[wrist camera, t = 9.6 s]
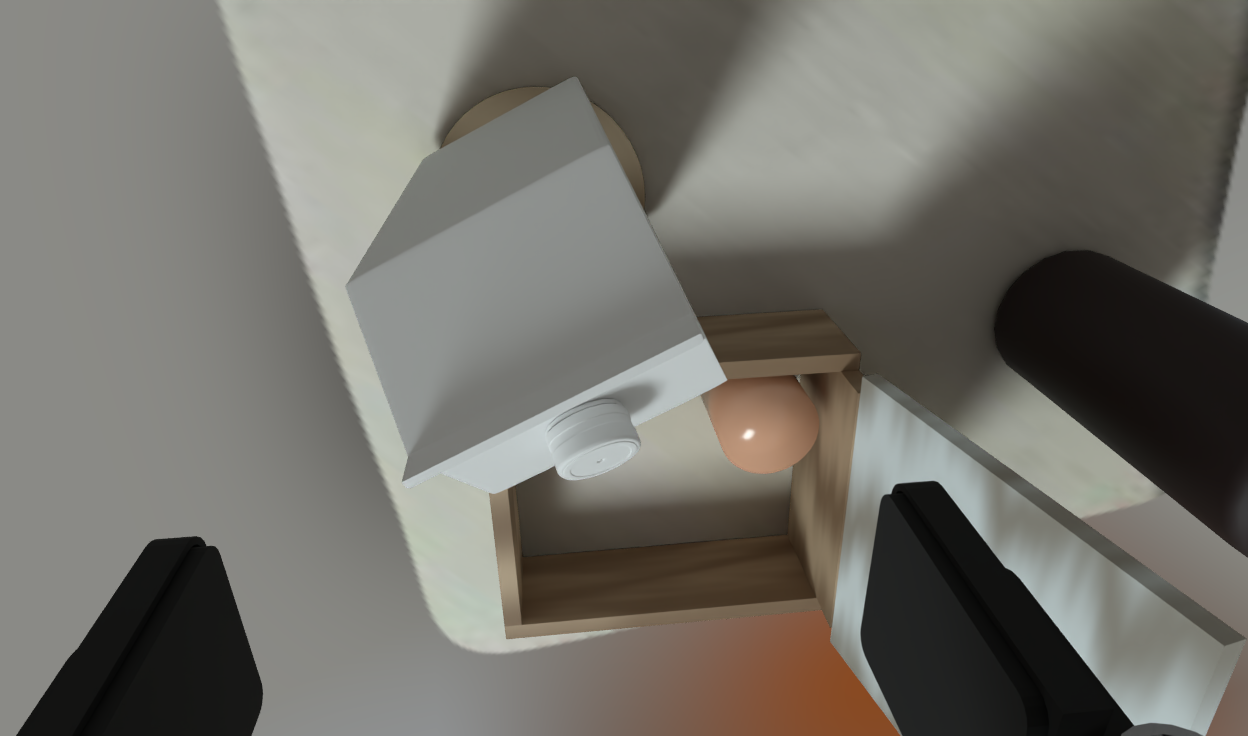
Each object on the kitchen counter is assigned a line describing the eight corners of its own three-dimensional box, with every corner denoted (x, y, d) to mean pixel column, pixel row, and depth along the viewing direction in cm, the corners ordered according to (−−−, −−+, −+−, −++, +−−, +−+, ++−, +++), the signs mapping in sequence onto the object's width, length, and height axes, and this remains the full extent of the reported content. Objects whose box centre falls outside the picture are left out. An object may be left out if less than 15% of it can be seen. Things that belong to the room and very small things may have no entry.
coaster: (418, 90, 32) (416, 92, 31) (642, 82, 33) (643, 84, 32) (445, 301, 36) (444, 306, 35) (644, 289, 37) (646, 294, 36)
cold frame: (482, 330, 37) (426, 726, 17) (884, 305, 38) (1251, 643, 19) (508, 570, 43) (489, 1063, 23) (854, 540, 44) (1106, 978, 25)
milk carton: (421, 158, 32) (299, 354, 15) (575, 73, 32) (626, 181, 15) (510, 301, 36) (489, 597, 18) (652, 227, 35) (769, 465, 18)
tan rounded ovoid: (698, 341, 38) (721, 390, 34) (789, 335, 38) (823, 382, 34) (697, 421, 40) (718, 477, 36) (783, 415, 40) (815, 469, 36)
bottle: (974, 289, 38) (1361, 560, 20) (1109, 221, 37) (1636, 442, 20) (1010, 397, 41) (1377, 716, 23) (1136, 336, 40) (1616, 618, 22)
